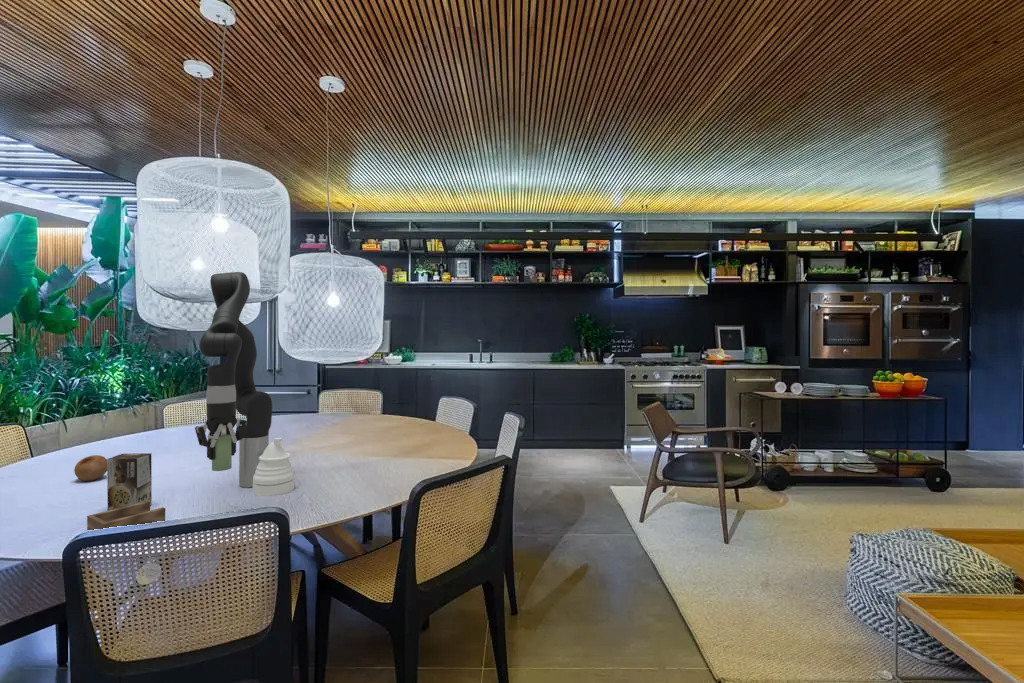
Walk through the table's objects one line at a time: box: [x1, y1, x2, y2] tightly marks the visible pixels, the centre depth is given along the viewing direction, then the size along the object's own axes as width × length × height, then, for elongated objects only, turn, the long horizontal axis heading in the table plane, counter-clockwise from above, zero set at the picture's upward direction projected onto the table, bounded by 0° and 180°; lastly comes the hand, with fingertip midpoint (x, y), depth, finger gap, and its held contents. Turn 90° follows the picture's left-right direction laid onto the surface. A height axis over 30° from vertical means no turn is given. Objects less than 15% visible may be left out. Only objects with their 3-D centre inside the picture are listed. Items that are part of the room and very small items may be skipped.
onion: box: [73, 454, 108, 482], centre depth 174 cm, size 10×9×10 cm
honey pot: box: [252, 437, 295, 497], centre depth 165 cm, size 13×13×18 cm
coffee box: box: [106, 452, 153, 511], centre depth 146 cm, size 9×6×16 cm
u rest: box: [86, 501, 166, 531], centre depth 132 cm, size 14×11×4 cm
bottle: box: [211, 425, 233, 472], centre depth 142 cm, size 5×5×13 cm
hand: (221, 457), depth 142 cm, fingers closed on bottle, 5 cm apart
